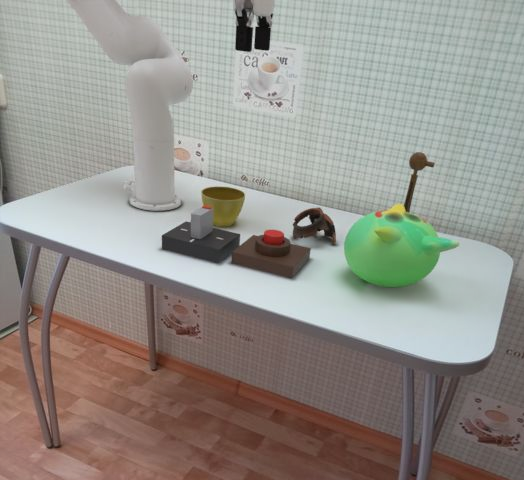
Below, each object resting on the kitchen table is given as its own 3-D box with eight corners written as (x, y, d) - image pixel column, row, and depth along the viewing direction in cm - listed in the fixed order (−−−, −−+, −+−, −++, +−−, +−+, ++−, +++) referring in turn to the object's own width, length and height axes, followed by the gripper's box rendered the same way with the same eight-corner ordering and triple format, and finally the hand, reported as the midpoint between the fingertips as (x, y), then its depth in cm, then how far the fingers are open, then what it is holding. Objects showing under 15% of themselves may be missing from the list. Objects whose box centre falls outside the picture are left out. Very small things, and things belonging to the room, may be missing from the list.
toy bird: (411, 265, 109) (429, 197, 101) (445, 303, 95) (469, 228, 87) (329, 263, 106) (342, 193, 98) (353, 302, 92) (369, 224, 84)
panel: (161, 249, 105) (161, 234, 103) (185, 234, 113) (185, 220, 111) (218, 263, 101) (219, 248, 100) (239, 247, 109) (240, 233, 108)
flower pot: (228, 234, 115) (230, 203, 111) (191, 223, 119) (192, 192, 115) (251, 222, 122) (253, 193, 118) (215, 212, 126) (217, 183, 122)
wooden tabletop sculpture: (415, 240, 122) (438, 153, 111) (410, 246, 119) (433, 157, 108) (391, 234, 124) (412, 148, 113) (385, 239, 121) (406, 151, 110)
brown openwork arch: (339, 252, 113) (328, 222, 107) (299, 264, 116) (286, 235, 111) (339, 221, 121) (328, 192, 115) (301, 232, 124) (289, 204, 119)
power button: (260, 243, 101) (261, 234, 100) (267, 237, 104) (268, 228, 103) (278, 247, 100) (279, 238, 99) (285, 241, 103) (286, 232, 102)
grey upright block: (200, 239, 103) (200, 214, 100) (190, 237, 104) (190, 212, 101) (212, 231, 107) (213, 206, 104) (203, 229, 108) (203, 204, 105)
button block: (231, 263, 102) (232, 242, 100) (252, 245, 111) (254, 225, 108) (292, 278, 99) (294, 257, 96) (309, 259, 107) (312, 238, 105)
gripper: (257, -54, 100) (251, 47, 109) (220, -68, 86) (217, 49, 95) (293, -52, 98) (284, 51, 107) (261, -66, 84) (254, 53, 94)
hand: (252, 50), depth 101 cm, fingers open, 9 cm apart
